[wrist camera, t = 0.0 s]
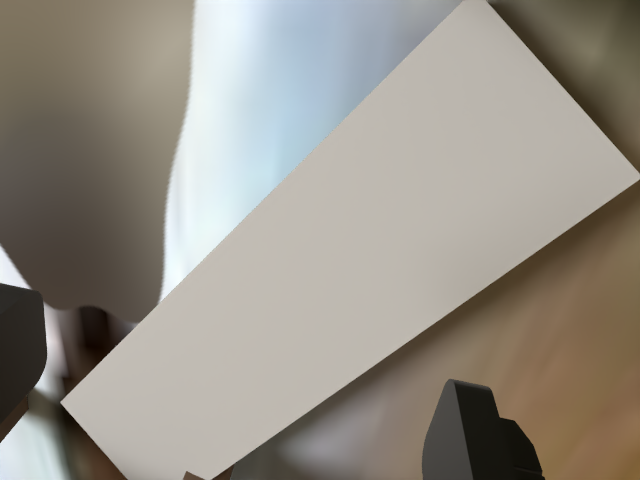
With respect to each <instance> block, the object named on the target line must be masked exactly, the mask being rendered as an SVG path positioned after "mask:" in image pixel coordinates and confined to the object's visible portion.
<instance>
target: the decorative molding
mask: <svg viewBox="0 0 640 480" xmlns="http://www.w3.org/2000/svg"><path fill="white" fill-rule="evenodd" d="M638 180H640V174H639V172H638V171H637V170H636V169H635V168H634V167H633V166H632V165H631V163H630V162H629V161H628V160H627V159H626V158H625V157H624V156H623V154H622V153H621V152H620V151H619V150H618V149H617V148H616V147H615V145H614V144H613V143H612V142H611V141H610V140H609V139H608V138H607V136H606V135H605V134H604V133H603V132H602V131H601V130H600V129H599V127H598V126H597V125H596V124H595V123H594V122H593V121H592V120H591V118H590V117H589V116H588V115H587V114H586V113H585V112H584V111H583V109H582V108H581V107H580V106H579V105H578V104H577V103H576V102H575V100H574V99H573V98H572V97H571V96H570V95H569V94H568V93H567V91H566V90H565V89H564V88H563V87H562V86H561V85H560V84H559V82H558V81H557V80H556V79H555V78H554V77H553V76H552V75H551V73H550V72H549V71H548V70H547V69H546V68H545V67H544V66H543V64H542V63H541V62H540V61H539V60H538V59H537V58H536V57H535V55H534V54H533V53H532V52H531V51H530V50H529V49H528V48H527V46H526V45H525V44H524V43H523V42H522V41H521V40H520V38H519V37H518V36H517V35H516V34H515V33H514V32H513V31H512V29H511V28H510V27H509V26H508V25H507V24H506V23H505V22H504V20H503V19H502V18H501V17H500V16H499V15H498V14H497V13H496V11H495V10H494V9H493V8H492V7H491V6H490V5H489V4H488V2H487V1H486V0H463V1H462V2H461V3H460V4H459V5H458V6H457V7H456V8H455V9H454V10H453V11H452V12H451V13H450V14H449V15H448V16H447V17H446V18H445V19H444V20H443V21H442V22H441V23H440V24H439V25H438V26H437V27H436V28H435V29H434V30H433V31H432V32H431V33H430V34H429V35H428V36H427V37H426V38H425V39H424V40H423V41H422V42H421V43H420V44H419V45H418V46H417V47H416V48H415V49H414V50H413V51H412V52H411V53H410V54H409V55H408V56H407V57H406V58H405V59H404V60H403V61H402V62H401V63H400V64H399V65H398V66H397V67H396V68H395V69H394V70H393V71H392V72H391V73H390V74H389V75H388V76H387V77H386V78H385V79H384V80H383V81H382V82H381V83H380V84H379V85H378V86H377V87H376V88H375V89H374V90H373V91H372V92H371V93H370V94H369V95H368V96H367V97H366V98H365V99H364V100H363V101H362V102H361V103H360V104H359V105H358V106H357V107H356V108H355V109H354V110H353V111H352V112H351V113H350V114H349V115H348V116H347V117H346V118H345V119H344V120H343V121H342V122H341V123H340V124H339V125H338V126H337V127H336V128H335V129H334V130H333V131H332V132H331V133H330V134H329V135H328V136H327V137H326V138H325V139H324V140H323V141H322V142H321V143H320V144H319V145H318V146H317V147H316V148H315V149H314V150H313V151H312V152H311V153H310V154H309V155H308V156H307V157H306V158H305V159H304V160H303V161H302V162H301V163H300V164H299V165H298V166H297V167H296V168H295V169H294V170H293V171H292V172H291V173H290V174H289V175H288V176H287V177H286V178H285V179H284V180H283V181H282V182H281V183H280V184H279V185H278V186H277V187H276V188H275V189H274V190H273V191H272V192H271V193H270V194H269V195H268V196H267V197H266V198H265V199H264V200H263V201H262V202H261V203H260V204H259V205H258V206H257V207H256V208H255V209H254V210H253V211H252V212H251V213H250V214H249V215H248V216H247V217H246V218H245V219H244V220H243V221H242V222H241V223H240V224H239V225H238V226H237V227H236V228H235V229H234V230H233V231H232V232H231V233H230V234H229V235H228V236H227V237H226V238H225V239H224V240H223V241H222V242H221V243H220V244H219V245H218V246H217V247H216V248H215V249H214V250H213V251H212V252H211V253H210V254H209V255H208V256H207V257H206V258H205V259H204V260H203V261H202V262H201V263H200V264H199V265H198V266H197V267H196V268H195V269H194V270H193V271H191V272H190V273H189V274H188V275H187V276H186V277H185V278H184V279H183V280H182V281H181V282H180V283H179V284H178V285H177V286H176V287H175V288H174V289H173V290H172V291H171V292H170V293H169V294H168V295H167V296H166V297H165V298H164V299H163V300H162V301H161V302H160V303H159V304H158V305H157V306H156V307H155V308H154V309H153V310H152V311H151V312H150V313H149V314H148V315H147V316H146V317H145V318H144V319H143V320H142V321H141V322H140V323H139V324H138V325H137V326H136V327H135V328H134V329H133V330H132V331H131V332H130V333H129V334H128V335H127V336H126V337H125V338H124V339H123V340H122V341H121V342H120V343H119V344H118V345H117V346H116V347H115V348H114V349H113V350H112V351H111V352H110V353H109V354H108V355H107V356H106V357H105V358H104V359H103V360H102V361H101V362H100V363H99V364H98V365H97V366H96V367H95V368H94V369H93V370H92V371H91V372H90V373H89V374H88V375H87V376H86V377H85V378H84V379H83V380H82V381H81V382H80V383H79V384H78V385H77V386H76V387H75V388H74V389H73V390H72V391H71V392H70V393H69V394H68V395H67V396H66V397H65V398H64V399H63V400H62V401H61V402H60V403H61V404H62V405H63V406H64V407H65V408H66V410H67V411H68V412H69V413H70V414H71V415H72V416H73V418H74V419H75V420H76V421H77V422H78V423H79V424H80V426H81V427H82V428H83V429H84V430H85V431H86V432H87V434H88V435H89V436H90V437H91V438H92V439H93V440H94V442H95V443H96V444H97V445H98V446H99V447H100V448H101V450H102V451H103V452H104V453H105V454H106V455H107V456H108V458H109V459H110V460H111V461H112V462H113V463H114V464H115V466H116V467H117V468H118V469H119V470H120V471H121V472H122V474H123V475H124V476H125V477H126V478H127V479H128V480H183V478H184V475H185V473H186V471H188V472H190V473H192V474H194V475H196V476H199V477H201V478H203V479H205V480H211V479H213V478H214V477H216V476H217V475H219V474H220V473H221V472H223V471H224V470H226V469H227V468H229V467H230V466H231V465H233V464H234V463H236V462H237V461H239V460H240V459H241V458H243V457H244V456H246V455H247V454H249V453H250V452H251V451H253V450H254V449H256V448H257V447H259V446H260V445H261V444H263V443H264V442H266V441H267V440H269V439H270V438H271V437H273V436H274V435H276V434H277V433H279V432H280V431H281V430H283V429H284V428H286V427H287V426H288V425H290V424H291V423H293V422H294V421H296V420H297V419H298V418H300V417H301V416H303V415H304V414H306V413H307V412H308V411H310V410H311V409H313V408H314V407H316V406H317V405H318V404H320V403H321V402H323V401H324V400H326V399H327V398H328V397H330V396H331V395H333V394H334V393H336V392H337V391H338V390H340V389H341V388H343V387H344V386H346V385H347V384H348V383H350V382H351V381H353V380H354V379H356V378H357V377H358V376H360V375H361V374H363V373H364V372H366V371H367V370H368V369H370V368H371V367H373V366H374V365H376V364H377V363H378V362H380V361H381V360H383V359H384V358H386V357H387V356H388V355H390V354H391V353H393V352H394V351H396V350H397V349H398V348H400V347H401V346H403V345H404V344H406V343H407V342H408V341H410V340H411V339H413V338H414V337H416V336H417V335H418V334H420V333H421V332H423V331H424V330H425V329H427V328H428V327H430V326H431V325H433V324H434V323H435V322H437V321H438V320H440V319H441V318H443V317H444V316H445V315H447V314H448V313H450V312H451V311H453V310H454V309H455V308H457V307H458V306H460V305H461V304H463V303H464V302H465V301H467V300H468V299H470V298H471V297H473V296H474V295H475V294H477V293H478V292H480V291H481V290H483V289H484V288H485V287H487V286H488V285H490V284H491V283H493V282H494V281H495V280H497V279H498V278H500V277H501V276H503V275H504V274H505V273H507V272H508V271H510V270H511V269H513V268H514V267H515V266H517V265H518V264H520V263H521V262H523V261H524V260H525V259H527V258H528V257H530V256H531V255H533V254H534V253H535V252H537V251H538V250H540V249H541V248H543V247H544V246H545V245H547V244H548V243H550V242H551V241H552V240H554V239H555V238H557V237H558V236H560V235H561V234H562V233H564V232H565V231H567V230H568V229H570V228H571V227H572V226H574V225H575V224H577V223H578V222H580V221H581V220H582V219H584V218H585V217H587V216H588V215H590V214H591V213H592V212H594V211H595V210H597V209H598V208H600V207H601V206H602V205H604V204H605V203H607V202H608V201H610V200H611V199H612V198H614V197H615V196H617V195H618V194H620V193H621V192H622V191H624V190H625V189H627V188H628V187H630V186H631V185H632V184H634V183H635V182H637V181H638Z"/></svg>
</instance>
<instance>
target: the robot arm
mask: <svg viewBox="0 0 640 480" xmlns="http://www.w3.org/2000/svg"><path fill="white" fill-rule="evenodd" d="M46 360H47V344H46V331H45V318H44V305H43V298H42V296H41V294H40V293H39V292H38V291H35V290H30V289H26V288H21V287H16V286H11V285H7V284H2V283H0V424H1V423H2V422H3V421H4V420H5V419H6V418H7V417H8V415H9V414H10V413H11V412H12V411H13V410H14V409H15V408H16V406H17V405H18V404H19V403H20V402H21V401H22V400H23V399H24V398H25V396H26V395H27V394H28V393H29V392H30V391H31V390H32V389H33V387H34V386H35V385H36V384H37V382H38V381H39V379H40V377H41V375H42V373H43V371H44V368H45V365H46ZM422 473H423V480H545V477H543V476H542V469H541V466H540V463H539V460H538V457H537V454H536V451H535V448H534V446H533V444H532V443H531V441H530V440H529V439H528V438H527V436H526V435H525V434H524V432H523V431H522V430H521V428H520V427H519V426H518V425H517V423H516V422H515V421H514V420H509V419H504V418H500V417H499V414H498V410H497V407H496V403H495V400H494V396H493V393H492V390H491V389H490V388H489V387H487V386H482V385H477V384H473V383H468V382H463V381H458V380H454V379H449V380H448V381H447V382H446V384H445V386H444V389H443V391H442V394H441V397H440V399H439V402H438V405H437V408H436V410H435V413H434V416H433V418H432V421H431V424H430V427H429V429H428V432H427V435H426V438H425V442H424V448H423V456H422Z"/></svg>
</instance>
